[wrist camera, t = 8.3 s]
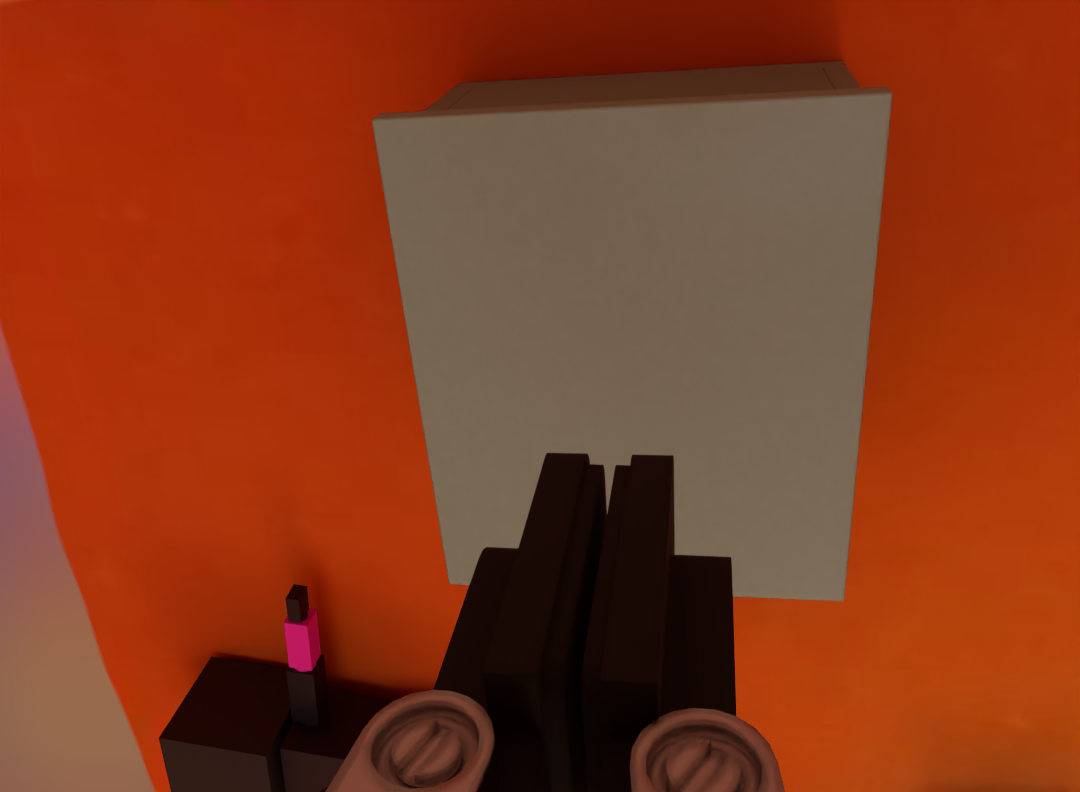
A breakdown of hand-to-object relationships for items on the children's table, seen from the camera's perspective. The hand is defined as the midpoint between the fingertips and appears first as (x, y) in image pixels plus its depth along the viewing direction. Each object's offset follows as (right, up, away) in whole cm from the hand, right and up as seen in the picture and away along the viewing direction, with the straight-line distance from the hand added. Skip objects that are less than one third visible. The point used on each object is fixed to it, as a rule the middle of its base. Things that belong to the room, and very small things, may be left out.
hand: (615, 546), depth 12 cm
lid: (+2, +3, +16) cm, 17 cm away
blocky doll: (-7, -16, +39) cm, 43 cm away
